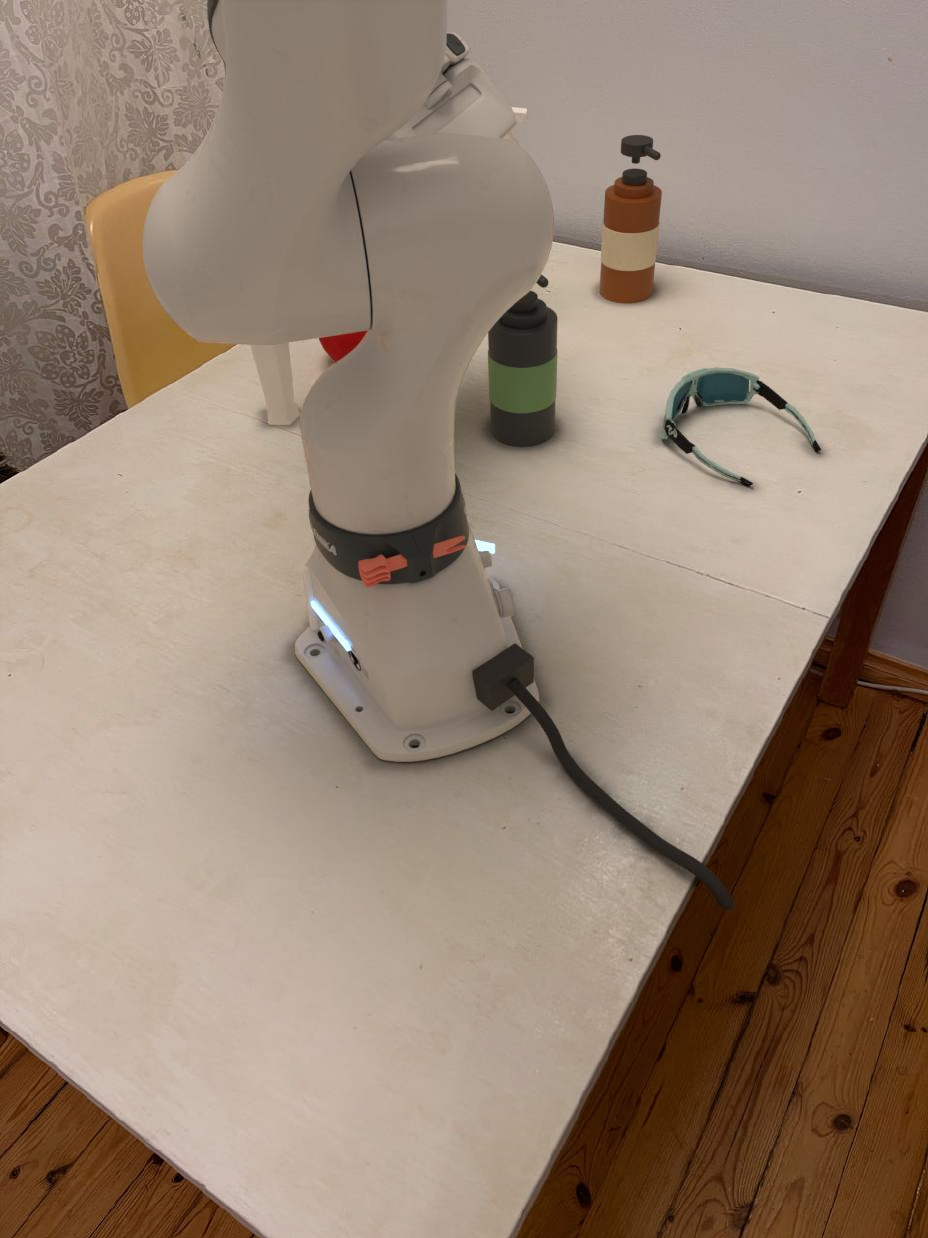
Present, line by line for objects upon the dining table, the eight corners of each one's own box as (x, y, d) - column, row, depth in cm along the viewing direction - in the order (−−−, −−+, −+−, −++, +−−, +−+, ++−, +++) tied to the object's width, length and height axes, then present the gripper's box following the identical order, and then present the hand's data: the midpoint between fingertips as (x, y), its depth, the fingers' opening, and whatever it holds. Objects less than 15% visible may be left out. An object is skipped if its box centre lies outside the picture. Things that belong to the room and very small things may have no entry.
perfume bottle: (306, 405, 111) (284, 280, 101) (298, 426, 108) (274, 299, 98) (268, 405, 112) (242, 280, 101) (258, 426, 109) (230, 298, 98)
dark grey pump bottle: (567, 437, 104) (571, 302, 94) (507, 454, 102) (505, 318, 92) (537, 406, 109) (538, 274, 99) (479, 421, 107) (474, 289, 97)
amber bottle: (663, 296, 128) (675, 175, 117) (615, 308, 126) (624, 186, 115) (635, 275, 132) (644, 158, 122) (589, 287, 131) (594, 168, 120)
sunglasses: (727, 387, 110) (738, 349, 106) (827, 460, 102) (843, 422, 98) (634, 429, 104) (642, 391, 101) (731, 509, 97) (744, 471, 93)
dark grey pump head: (671, 171, 115) (673, 148, 113) (643, 177, 114) (645, 154, 112) (641, 155, 120) (642, 132, 118) (614, 160, 119) (615, 137, 117)
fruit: (313, 377, 116) (299, 298, 109) (333, 341, 122) (322, 264, 116) (387, 381, 115) (379, 301, 108) (404, 344, 121) (397, 266, 114)
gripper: (371, 91, 77) (488, 227, 81) (466, 28, 91) (562, 147, 94) (329, 146, 81) (442, 273, 85) (425, 78, 95) (520, 190, 99)
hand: (506, 206), depth 90 cm, fingers closed
